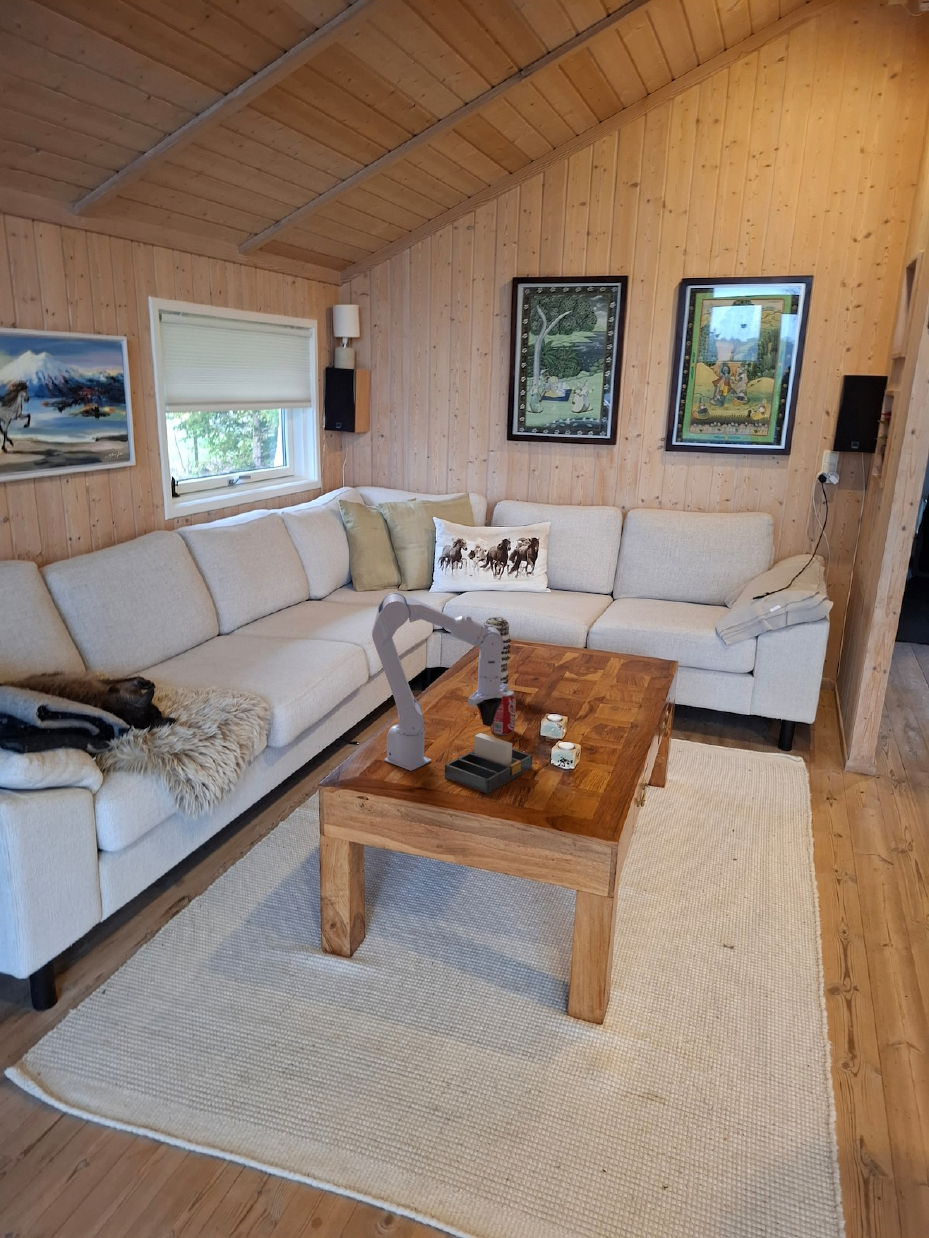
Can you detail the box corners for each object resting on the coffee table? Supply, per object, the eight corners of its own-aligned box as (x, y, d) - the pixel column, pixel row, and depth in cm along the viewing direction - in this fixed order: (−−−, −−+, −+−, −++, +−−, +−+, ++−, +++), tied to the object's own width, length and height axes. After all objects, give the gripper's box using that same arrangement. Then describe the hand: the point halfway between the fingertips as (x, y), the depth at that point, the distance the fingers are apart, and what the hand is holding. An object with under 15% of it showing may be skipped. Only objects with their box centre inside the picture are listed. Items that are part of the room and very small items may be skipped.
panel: (473, 760, 218) (474, 735, 216) (479, 757, 220) (480, 732, 218) (505, 772, 212) (506, 746, 210) (511, 769, 214) (512, 743, 212)
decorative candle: (509, 691, 272) (512, 615, 265) (508, 701, 263) (511, 623, 256) (481, 689, 273) (483, 614, 266) (478, 699, 264) (481, 622, 257)
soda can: (513, 727, 243) (515, 687, 240) (515, 737, 237) (517, 696, 233) (488, 726, 243) (490, 687, 240) (490, 736, 236) (491, 696, 233)
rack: (444, 777, 211) (444, 763, 210) (490, 753, 225) (491, 740, 224) (487, 794, 203) (488, 779, 202) (532, 768, 217) (533, 754, 216)
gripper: (484, 685, 207) (482, 737, 211) (518, 671, 218) (516, 720, 222) (462, 679, 211) (460, 729, 215) (496, 665, 223) (494, 713, 226)
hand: (487, 724), depth 219 cm, fingers closed
